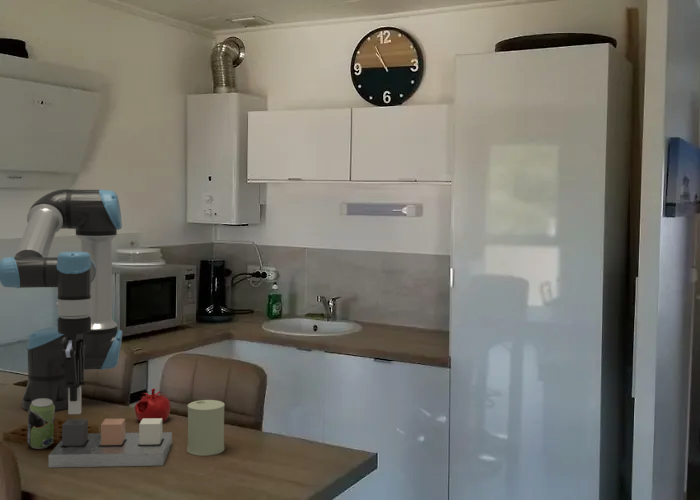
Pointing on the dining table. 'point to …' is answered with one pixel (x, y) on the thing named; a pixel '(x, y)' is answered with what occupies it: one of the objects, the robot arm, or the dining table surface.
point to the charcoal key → (74, 432)
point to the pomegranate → (153, 406)
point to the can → (205, 427)
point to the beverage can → (41, 423)
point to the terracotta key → (113, 432)
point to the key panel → (111, 453)
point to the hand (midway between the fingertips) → (74, 413)
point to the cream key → (150, 431)
